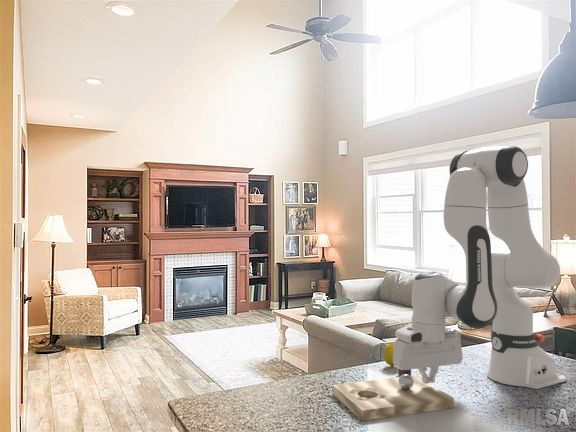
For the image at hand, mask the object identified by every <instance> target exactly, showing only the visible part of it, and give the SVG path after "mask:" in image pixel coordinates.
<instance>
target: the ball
mask: <svg viewBox="0 0 576 432" xmlns="http://www.w3.org/2000/svg"><path fill="white" fill-rule="evenodd" d="M411 376H412V375H411ZM411 376H410V375H408V374H403V375H399V376H398V377H399V380H398V383H399V386H400V387H401V388H402V389H404V390H409V389H411V388H412V387H413V384H414V381H413V378H412V377H411Z"/></svg>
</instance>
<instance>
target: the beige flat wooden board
mask: <svg viewBox="0 0 576 432" xmlns="http://www.w3.org/2000/svg"><path fill="white" fill-rule="evenodd" d="M399 377H400V376H397V377H390V378H382V379H381V378H379V379H375V380H365V381H364V380H363V381H355V382H346V383H340V384H339V383H338V384H332V395H333V396H334V397H335V398H336V399H338V401H340V402H341V403H342V404H343V405H344V406H345V408H348V410H350V411H351V412H352V413H353V414H354V415H355V416H356V417H357V418H358V419H360V420H361V421H362V422H365V421H371V420H372V419H373V420H379V419H378V418H380V419H384V418H383V417H387V418H392V416H393V417H398V416H399V417H400V416H406V415H412V414H413V415H414V414H419V413H420V414H421V413H427V412H434V411H441V410H447V409H454V408H455V397H454V396H451V395H449V394H448V393H447V392H446V391H445V392H444V391H443V390H441V389H440V388H438V387H435V386H434V385H432V384H431V383H423V382H422V378H420V377H418V376H416V375H411V377H412V378H413V381H414V384H413V387H412V388H411V389H409V390H404V389H402V388H401V387H400V386H399V383H398V380H399Z"/></svg>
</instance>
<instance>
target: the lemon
mask: <svg viewBox="0 0 576 432" xmlns="http://www.w3.org/2000/svg"><path fill="white" fill-rule="evenodd" d="M394 343H395V342H392V341H391V342H390V343H388V344H386V346H385V347H384V348H383V349H384V350H383V359H384V362H385V363H386V364H388V366H390V367H391V368H393V367H395V365H394V364H393V348H394Z"/></svg>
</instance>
